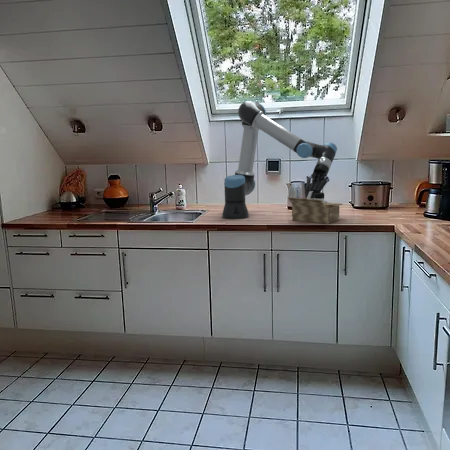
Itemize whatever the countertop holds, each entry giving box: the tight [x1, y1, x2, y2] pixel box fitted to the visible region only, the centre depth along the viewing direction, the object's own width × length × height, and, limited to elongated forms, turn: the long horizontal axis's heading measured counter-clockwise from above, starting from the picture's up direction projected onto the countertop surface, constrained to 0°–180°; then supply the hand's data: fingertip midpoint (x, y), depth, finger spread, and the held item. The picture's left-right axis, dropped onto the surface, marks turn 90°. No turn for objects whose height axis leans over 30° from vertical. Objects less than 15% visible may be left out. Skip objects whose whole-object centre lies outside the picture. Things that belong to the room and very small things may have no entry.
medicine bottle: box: [313, 191, 328, 203], centre depth 262 cm, size 7×7×12 cm
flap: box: [287, 196, 326, 209], centre depth 230 cm, size 19×1×7 cm
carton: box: [291, 201, 344, 225], centre depth 241 cm, size 22×19×8 cm
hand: (307, 202), depth 230 cm, fingers closed
